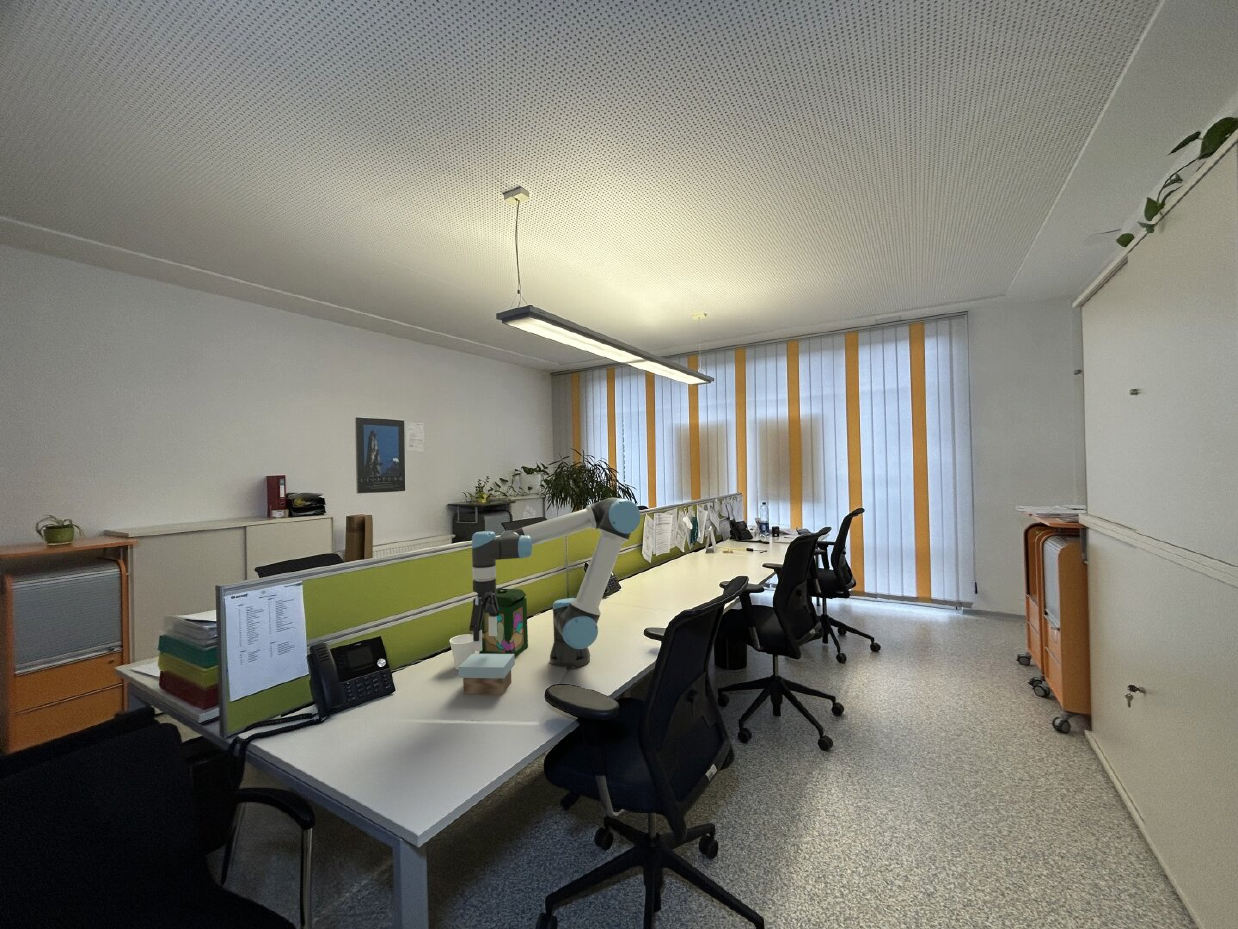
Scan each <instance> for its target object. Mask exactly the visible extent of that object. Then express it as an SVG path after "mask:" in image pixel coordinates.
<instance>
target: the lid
mask: <svg viewBox="0 0 1238 929" xmlns="http://www.w3.org/2000/svg"><path fill="white" fill-rule="evenodd" d="M515 658H516V657H515V655H514V654H479V653H475V654H471V655H470V656H469V657H468V658H467V659H466V660H465V661H464V662H463V663H462V664H461V665H460V666H459V667H458V668H459V670H458V679H463V678H505V676H506V675H507V674H508V673H509V671H510V670H511V671H512V669H513V667H514V666H515V664H516V661H515V660H516V659H515Z"/></svg>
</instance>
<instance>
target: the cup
mask: <svg viewBox="0 0 1238 929" xmlns="http://www.w3.org/2000/svg"><path fill="white" fill-rule="evenodd" d="M449 644H450V647H451V652H452V658H453V662H454V663H453V664H454V668H455V670H457V671H459V668H458V667H459V666H460V665H461V664H462V663H463V662H464V661H465V660H466V659H467V658H468V657H469V656H470V655H471V654H476V651H473V633H471V634H470V633H469V634H468V633H466V634H459V635H456V636H453V637H451V638H450V639H449Z"/></svg>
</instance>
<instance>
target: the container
mask: <svg viewBox="0 0 1238 929" xmlns="http://www.w3.org/2000/svg"><path fill="white" fill-rule="evenodd" d="M495 592H496V598H497V602H498V607H499V612H497V613H500V614H499V616H496V617H497V636H489V622H488V617H489V616H490V615H489V613H488V611H487V610H486V611H485V612H484V617H483V621H482V625H481V629H480V630H482V651H478V654H514V655H515V658H517V657H518V656H519V655H521V654H522V653H523V652H524V651H525V650H527V649H528V648H529V636H528V635H529V634H528V632H529V631H528V608H527V607H528V604H527V597H526V596H527V594H526V592H524V590H523V589H521V588H499V587H498V588H496V590H495Z"/></svg>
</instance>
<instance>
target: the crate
mask: <svg viewBox="0 0 1238 929" xmlns="http://www.w3.org/2000/svg"><path fill="white" fill-rule="evenodd" d="M462 683H463V695H484V696H485V695H486V696H487V695H489V696H490V695H496V696H503V695H504V694H505V692H506V691H507V690H508V688H509V686H510V685H511V684H512V683H513V682H512V669H511V670H510V671H509V673H508V674H507V675H506V676H505V678H462Z"/></svg>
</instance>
